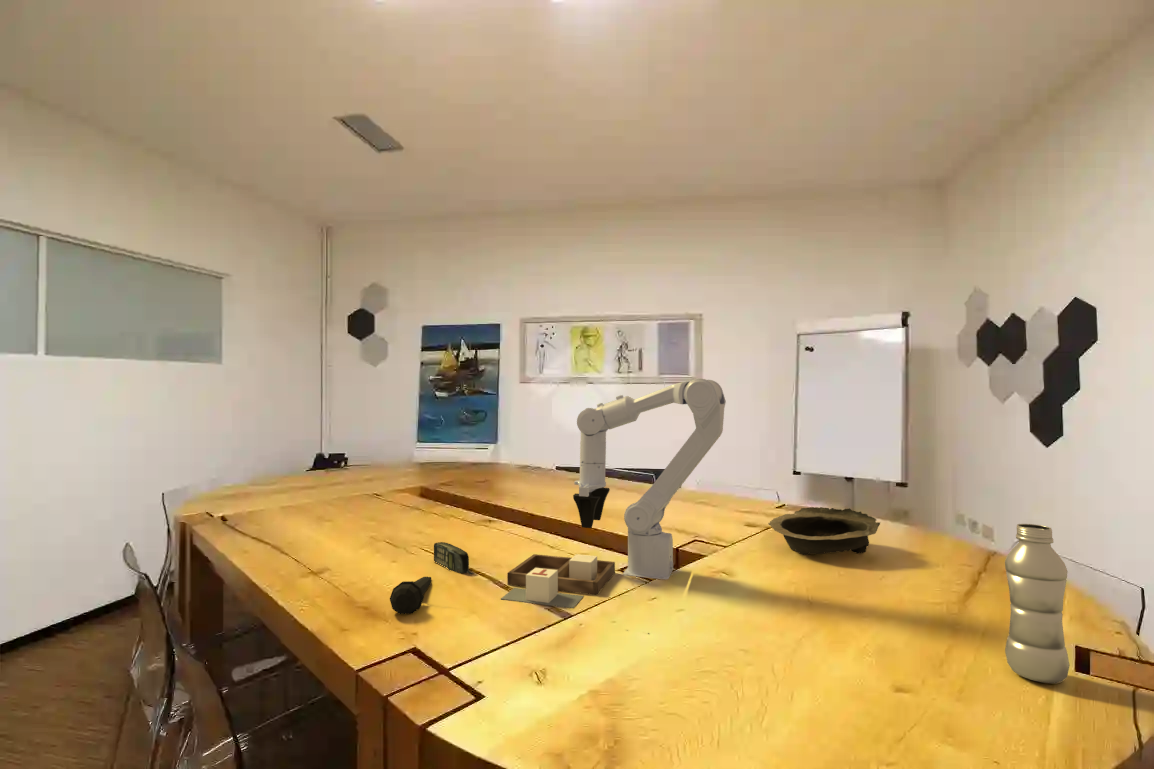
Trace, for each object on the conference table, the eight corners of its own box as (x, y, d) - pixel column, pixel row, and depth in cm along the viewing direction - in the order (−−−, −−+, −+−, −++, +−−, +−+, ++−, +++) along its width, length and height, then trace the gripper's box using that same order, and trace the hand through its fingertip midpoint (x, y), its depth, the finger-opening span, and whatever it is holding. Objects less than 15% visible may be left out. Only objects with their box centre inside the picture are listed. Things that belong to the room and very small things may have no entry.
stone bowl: (883, 545, 138) (883, 508, 137) (876, 580, 117) (876, 538, 116) (781, 531, 151) (780, 497, 151) (758, 560, 130) (757, 522, 130)
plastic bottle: (993, 667, 76) (990, 521, 76) (1038, 664, 76) (1035, 520, 77) (1035, 691, 69) (1032, 533, 70) (1084, 689, 70) (1081, 532, 70)
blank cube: (597, 578, 112) (597, 556, 112) (591, 585, 107) (590, 562, 108) (576, 576, 113) (576, 554, 113) (569, 583, 109) (569, 560, 109)
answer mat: (583, 599, 102) (583, 595, 102) (573, 611, 96) (573, 607, 96) (514, 590, 106) (514, 587, 106) (500, 601, 100) (500, 598, 100)
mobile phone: (431, 541, 125) (463, 554, 113) (443, 539, 127) (476, 551, 115) (431, 563, 125) (463, 578, 113) (443, 561, 126) (476, 575, 115)
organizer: (614, 575, 115) (614, 561, 115) (597, 597, 102) (597, 582, 102) (533, 566, 121) (533, 554, 121) (507, 587, 108) (507, 572, 108)
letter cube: (557, 594, 102) (557, 569, 103) (548, 602, 98) (548, 577, 98) (535, 591, 104) (535, 567, 104) (525, 599, 100) (525, 574, 100)
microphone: (420, 596, 112) (391, 624, 92) (413, 568, 113) (381, 590, 93) (446, 587, 112) (422, 613, 93) (438, 560, 113) (413, 579, 93)
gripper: (584, 457, 130) (582, 515, 130) (565, 465, 116) (564, 529, 116) (613, 459, 128) (611, 517, 128) (598, 467, 114) (596, 532, 114)
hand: (591, 523), depth 122 cm, fingers open, 7 cm apart
